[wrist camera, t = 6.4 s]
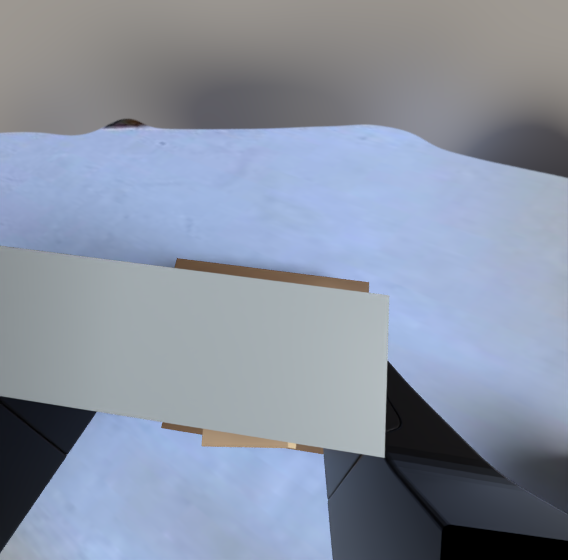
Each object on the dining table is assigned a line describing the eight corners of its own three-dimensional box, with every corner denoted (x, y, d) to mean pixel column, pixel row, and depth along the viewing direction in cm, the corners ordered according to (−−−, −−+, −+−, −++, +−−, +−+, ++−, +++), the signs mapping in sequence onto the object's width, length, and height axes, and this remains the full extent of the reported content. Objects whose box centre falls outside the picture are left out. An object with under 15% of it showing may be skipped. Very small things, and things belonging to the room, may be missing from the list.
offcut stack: (294, 439, 18) (296, 461, 15) (208, 426, 19) (193, 444, 16) (302, 366, 20) (305, 373, 17) (221, 354, 20) (210, 359, 17)
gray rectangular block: (301, 344, 14) (384, 457, 2) (214, 332, 15) (-172, 367, 2) (304, 320, 15) (388, 295, 2) (219, 309, 15) (-98, 233, 3)
